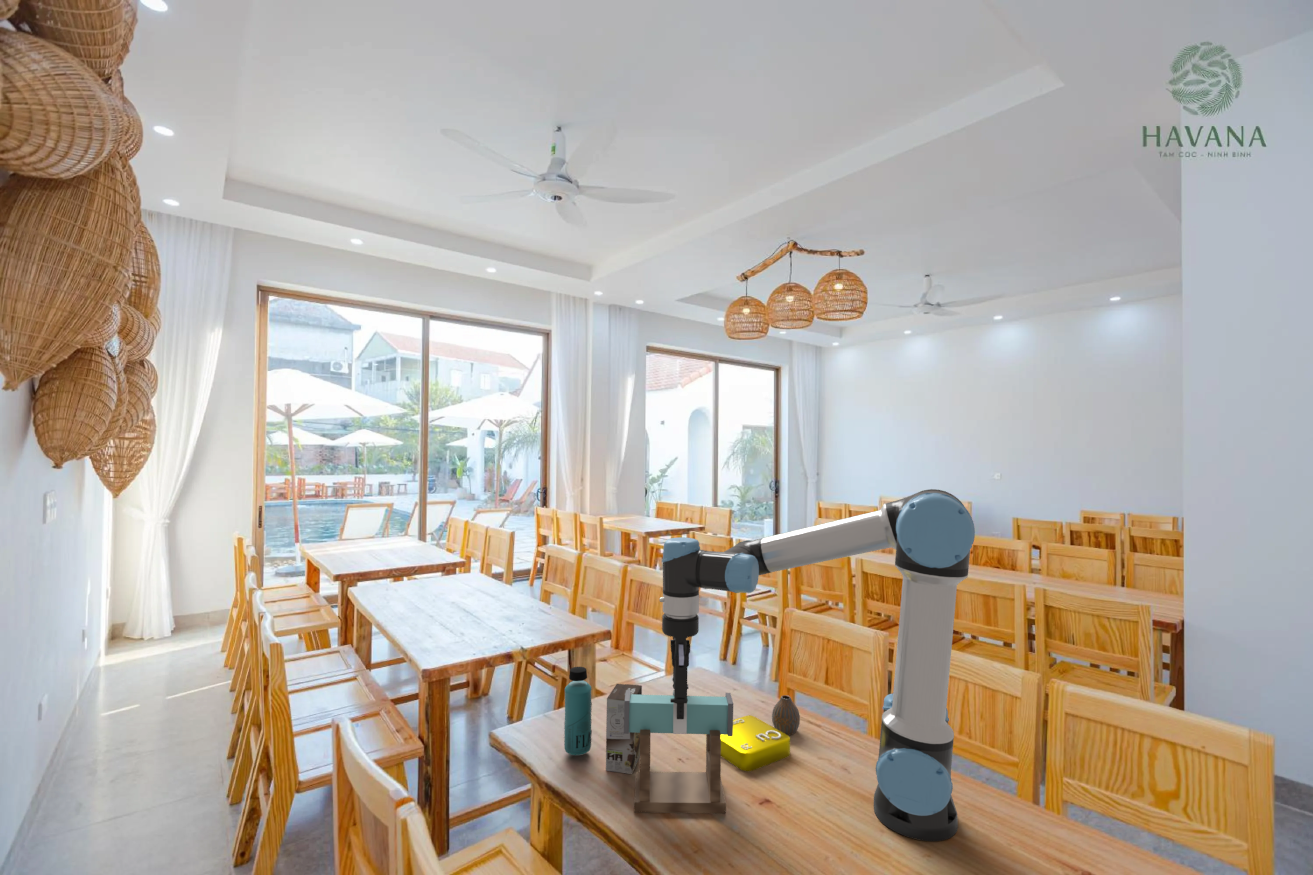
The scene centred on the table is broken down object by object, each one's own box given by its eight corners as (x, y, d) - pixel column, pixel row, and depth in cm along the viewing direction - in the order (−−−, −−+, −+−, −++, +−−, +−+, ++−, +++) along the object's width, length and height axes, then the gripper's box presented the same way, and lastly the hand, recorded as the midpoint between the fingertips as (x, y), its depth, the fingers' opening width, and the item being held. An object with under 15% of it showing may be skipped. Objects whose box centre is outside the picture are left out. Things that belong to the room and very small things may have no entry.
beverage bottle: (573, 765, 135) (574, 676, 136) (557, 753, 140) (558, 667, 140) (597, 755, 140) (598, 669, 140) (581, 744, 145) (581, 661, 145)
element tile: (750, 730, 154) (750, 711, 154) (794, 756, 141) (794, 735, 141) (704, 746, 145) (704, 726, 145) (745, 775, 133) (745, 753, 133)
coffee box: (633, 774, 132) (633, 700, 132) (604, 771, 133) (605, 698, 133) (642, 753, 141) (643, 684, 141) (615, 750, 142) (616, 682, 142)
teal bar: (729, 724, 127) (730, 692, 127) (732, 736, 121) (733, 703, 121) (625, 721, 127) (625, 690, 127) (623, 733, 122) (624, 700, 122)
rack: (719, 781, 130) (720, 711, 130) (725, 813, 119) (726, 736, 119) (636, 780, 130) (636, 710, 130) (634, 812, 119) (634, 735, 119)
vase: (803, 729, 153) (803, 695, 153) (794, 741, 147) (794, 705, 147) (777, 722, 157) (777, 689, 157) (767, 733, 151) (767, 698, 151)
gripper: (661, 602, 133) (660, 708, 133) (662, 626, 116) (661, 748, 116) (696, 602, 133) (695, 708, 133) (701, 626, 116) (700, 748, 116)
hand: (679, 726), depth 124 cm, fingers closed on teal bar, 4 cm apart
